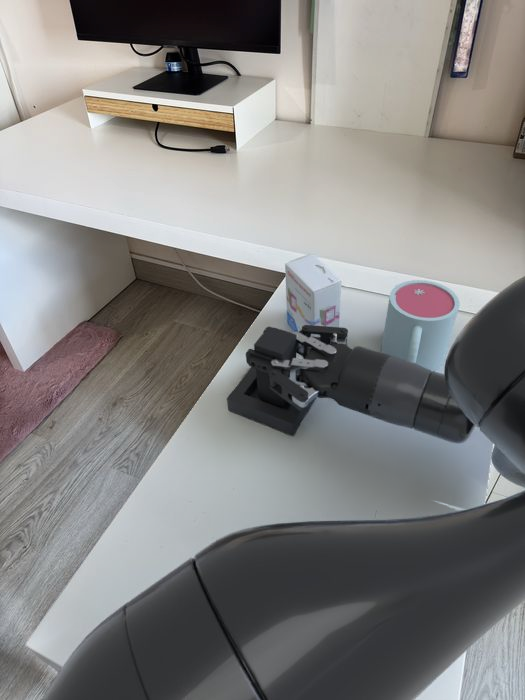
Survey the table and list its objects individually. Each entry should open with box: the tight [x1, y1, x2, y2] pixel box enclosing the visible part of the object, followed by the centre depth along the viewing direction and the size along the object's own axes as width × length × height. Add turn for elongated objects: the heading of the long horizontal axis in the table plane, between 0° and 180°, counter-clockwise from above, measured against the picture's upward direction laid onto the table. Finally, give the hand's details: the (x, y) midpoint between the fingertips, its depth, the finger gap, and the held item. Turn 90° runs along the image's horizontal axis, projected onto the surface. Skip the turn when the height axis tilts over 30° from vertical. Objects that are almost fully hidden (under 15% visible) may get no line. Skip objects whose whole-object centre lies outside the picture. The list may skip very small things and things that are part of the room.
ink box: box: [284, 253, 342, 337], centre depth 76 cm, size 9×5×12 cm, turn 27°
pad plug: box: [253, 325, 297, 408], centre depth 66 cm, size 4×4×10 cm
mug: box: [380, 279, 460, 372], centre depth 71 cm, size 14×9×10 cm
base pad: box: [226, 367, 318, 437], centre depth 70 cm, size 10×10×3 cm
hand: (256, 345), depth 65 cm, fingers closed on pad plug, 4 cm apart
